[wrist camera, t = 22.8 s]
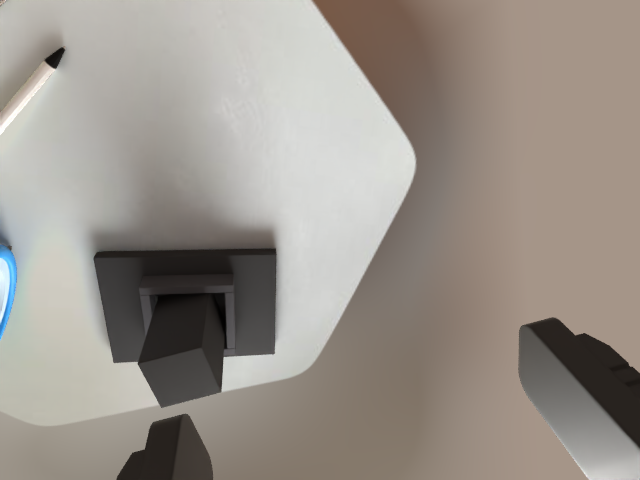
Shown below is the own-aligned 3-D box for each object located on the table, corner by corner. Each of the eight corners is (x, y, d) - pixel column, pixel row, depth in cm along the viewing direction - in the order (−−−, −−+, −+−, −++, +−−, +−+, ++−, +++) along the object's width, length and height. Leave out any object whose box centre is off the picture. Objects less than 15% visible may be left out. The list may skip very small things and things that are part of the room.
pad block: (210, 283, 42) (201, 346, 34) (225, 324, 44) (221, 392, 36) (157, 296, 41) (137, 363, 34) (176, 337, 44) (161, 408, 36)
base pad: (275, 248, 42) (277, 265, 40) (273, 346, 48) (275, 367, 45) (97, 251, 40) (85, 269, 37) (116, 355, 45) (108, 377, 42)
